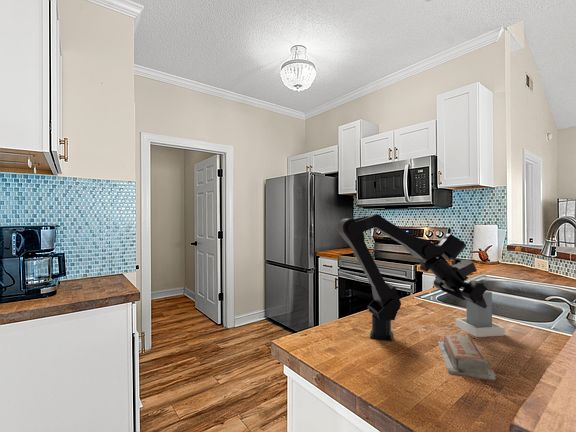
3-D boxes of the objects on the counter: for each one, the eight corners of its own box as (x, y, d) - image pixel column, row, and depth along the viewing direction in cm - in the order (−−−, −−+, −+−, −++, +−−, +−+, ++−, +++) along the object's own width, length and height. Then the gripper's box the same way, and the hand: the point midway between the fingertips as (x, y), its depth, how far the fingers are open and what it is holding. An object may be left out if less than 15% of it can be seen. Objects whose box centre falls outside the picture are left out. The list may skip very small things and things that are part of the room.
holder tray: (476, 337, 94) (476, 329, 94) (455, 325, 103) (455, 318, 103) (504, 335, 95) (504, 327, 95) (481, 324, 105) (481, 317, 105)
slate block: (477, 333, 96) (477, 292, 96) (466, 328, 101) (466, 289, 101) (492, 333, 97) (492, 292, 97) (480, 327, 102) (480, 288, 102)
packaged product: (497, 361, 69) (448, 355, 72) (497, 382, 69) (448, 375, 72) (476, 332, 86) (437, 328, 90) (476, 349, 86) (437, 344, 90)
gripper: (481, 255, 89) (515, 291, 90) (441, 248, 108) (470, 278, 109) (456, 283, 88) (491, 319, 89) (420, 272, 107) (449, 302, 108)
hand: (474, 303), depth 99 cm, fingers open, 9 cm apart
